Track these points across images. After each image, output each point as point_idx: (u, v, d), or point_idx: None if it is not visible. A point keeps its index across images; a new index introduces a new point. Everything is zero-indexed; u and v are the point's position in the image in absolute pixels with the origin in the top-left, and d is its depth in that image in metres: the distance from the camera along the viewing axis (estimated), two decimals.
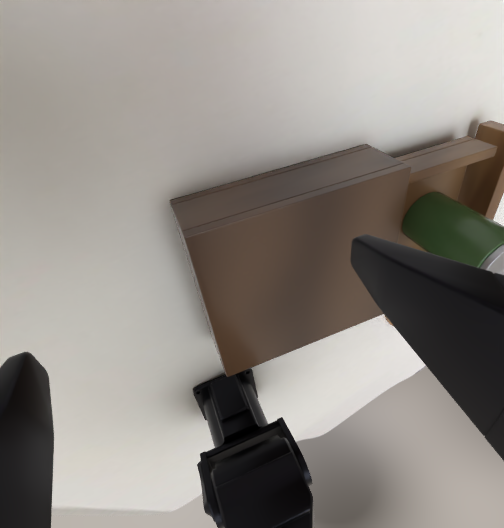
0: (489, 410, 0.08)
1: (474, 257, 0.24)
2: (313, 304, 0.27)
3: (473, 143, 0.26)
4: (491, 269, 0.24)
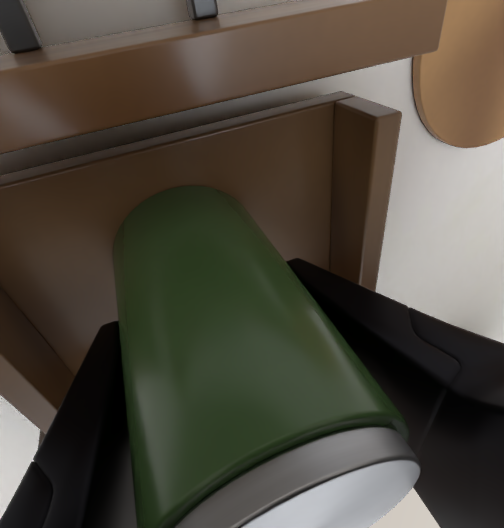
0: None
1: None
2: None
3: None
4: None
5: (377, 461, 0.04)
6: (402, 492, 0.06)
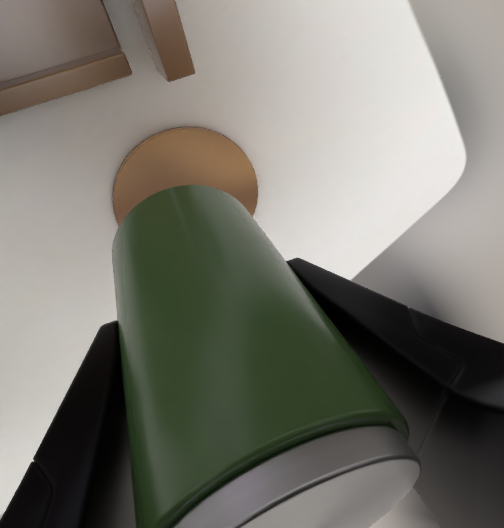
0: None
1: None
2: None
3: None
4: None
5: (377, 460, 0.04)
6: (402, 492, 0.06)
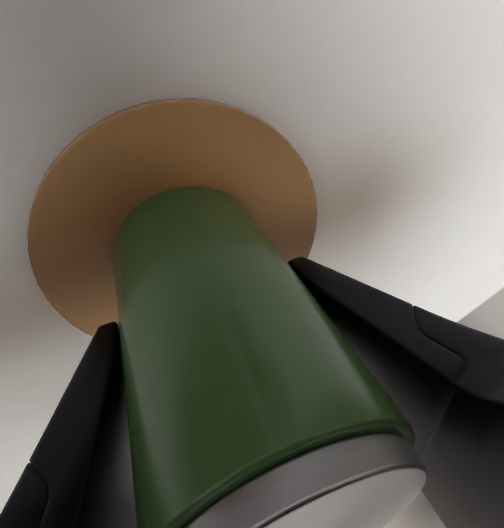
0: None
1: None
2: None
3: None
4: None
5: (384, 470, 0.04)
6: (407, 499, 0.06)
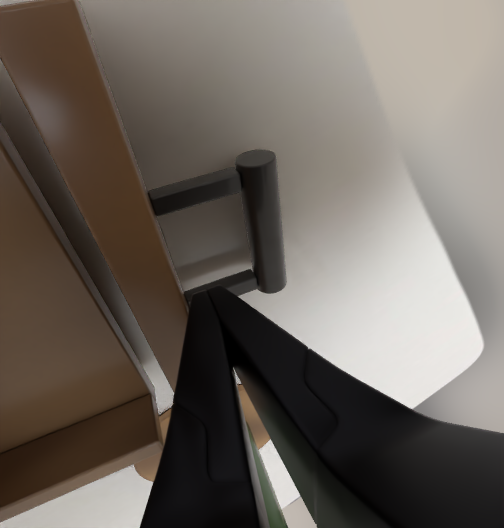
0: (310, 501, 0.07)
1: None
2: None
3: None
4: None
5: None
6: None
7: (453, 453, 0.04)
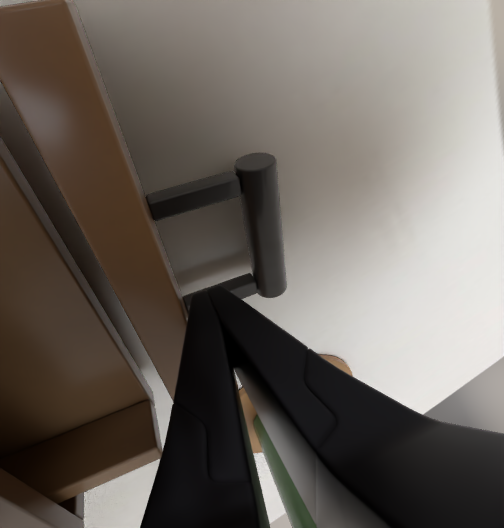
0: (309, 501, 0.07)
1: None
2: None
3: None
4: None
5: None
6: None
7: (452, 453, 0.04)
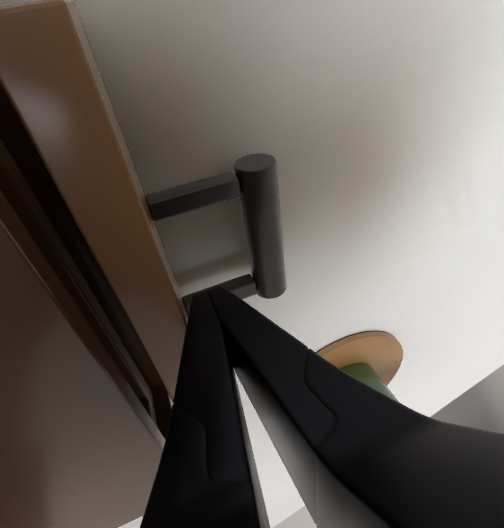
0: (310, 501, 0.07)
1: None
2: None
3: None
4: None
5: None
6: None
7: (453, 454, 0.04)
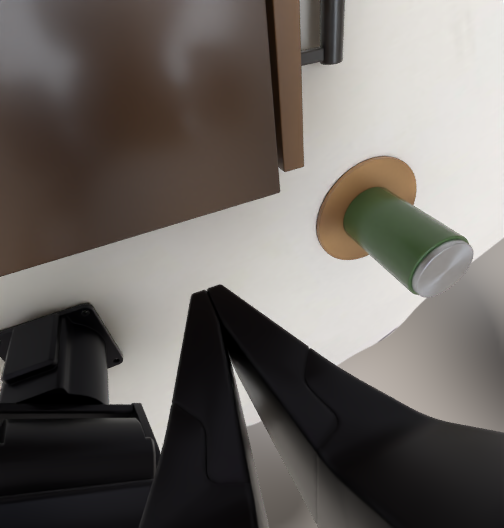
0: (310, 501, 0.07)
1: None
2: (102, 133, 0.13)
3: None
4: (433, 291, 0.22)
5: (466, 243, 0.20)
6: (467, 266, 0.22)
7: (454, 453, 0.04)
